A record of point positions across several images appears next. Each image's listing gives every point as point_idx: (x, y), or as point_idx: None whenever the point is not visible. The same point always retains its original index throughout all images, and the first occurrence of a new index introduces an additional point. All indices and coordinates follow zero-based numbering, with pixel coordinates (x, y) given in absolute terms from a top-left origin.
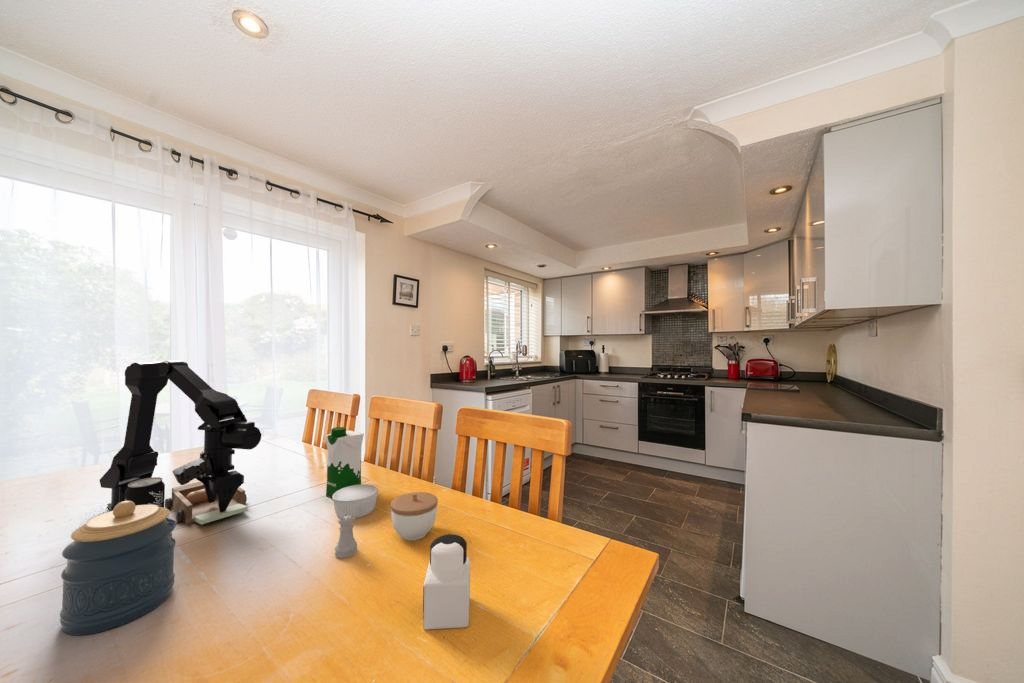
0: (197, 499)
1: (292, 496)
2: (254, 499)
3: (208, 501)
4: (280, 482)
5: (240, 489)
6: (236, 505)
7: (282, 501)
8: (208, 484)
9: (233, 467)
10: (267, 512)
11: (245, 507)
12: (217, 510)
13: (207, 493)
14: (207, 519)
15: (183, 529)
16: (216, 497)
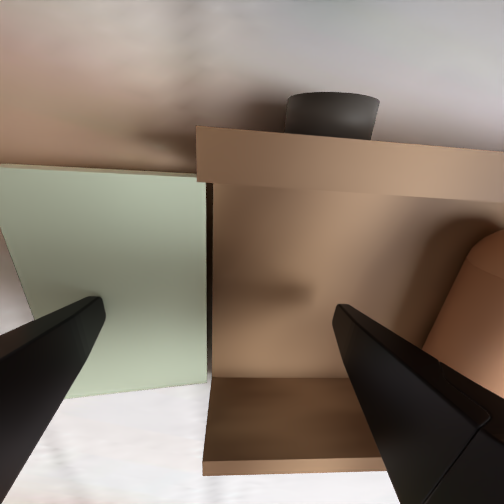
0: (468, 278)
1: (177, 478)
2: None
3: (349, 306)
4: (361, 489)
5: (254, 467)
6: (173, 370)
7: (153, 454)
8: (454, 446)
9: None
10: (67, 403)
11: None
12: (183, 296)
13: (381, 348)
14: (2, 208)
15: (140, 92)
16: (424, 345)
